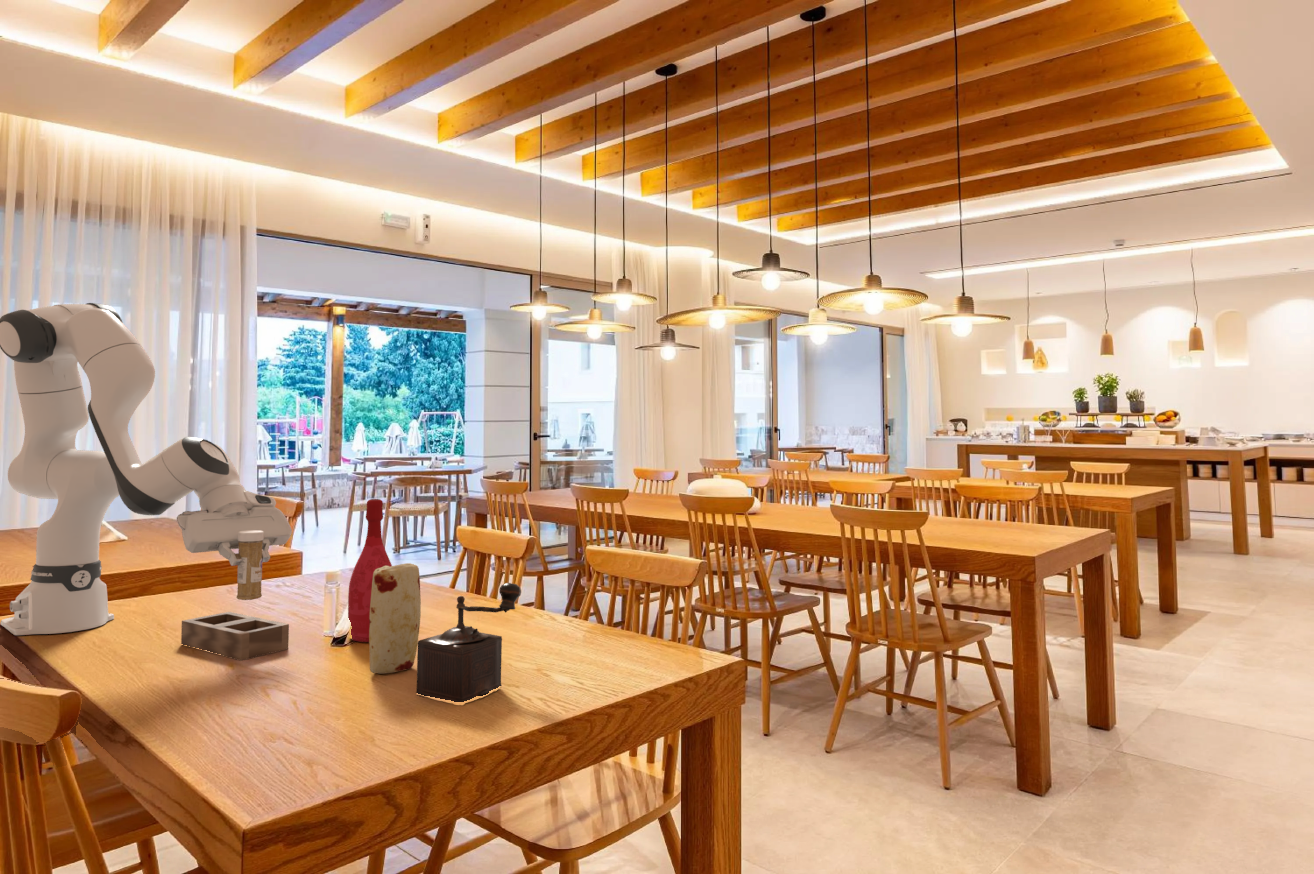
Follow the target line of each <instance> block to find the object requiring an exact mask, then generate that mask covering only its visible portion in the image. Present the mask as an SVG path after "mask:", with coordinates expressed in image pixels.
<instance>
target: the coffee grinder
mask: <svg viewBox="0 0 1314 874" xmlns="http://www.w3.org/2000/svg"><path fill="white" fill-rule="evenodd" d="M499 594H500V596H501V603H500V604H499V605H498V607H487V606H467V605H466V604H465V603H464V602H465V600H466V598H465V596H462V595H458V596H457V599H456V602H457V604H456V609H457V610H458V611H457V613H458V614H457V616H458V617H457V618H458V619H457V625H456V626H454V627H451V628H449V629H447V630H444V632H442V633H441V634H437V635H434V636H429V637H425V638H423V639H420V640H419V639H418V644H417V653H416V655H417V656H416V657H417V658H416V662H417V663H416V692H415V694H416V693H418V694H421V695H424V696H430V697H435V698H440V699H445V700H451V701H454V702H464V701H467V700H470V699H472V698H474V697H476V696H483V695H486V694H488V693H489V691H491V690H493V689H496V688H498V687H499V686H502V654H503V653H502V652H503V651H502V649H503V648H502V647H503V644H502V643H503V637H502V636H501V635H497V634H492V633H491V634H490V633H485V632H480V631H479V629H478V628H474V627H473V626H471V625H470V626H468V625H465V623H464V613H465V612H464V611H466V612H483V613H485V612H486V613H499V612H504V613H508V611H509V612H510V611H511V610H514V611H515V610H516V606H515V605H516V604H515V603H516V601H517V600H518V599H519V597H520V596H521V594H522V589H521V587H520V585H518V584H516V583H512V582H506V583H504V584H501V586H500V587H499ZM502 687H503V686H502Z"/></svg>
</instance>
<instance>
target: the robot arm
mask: <svg viewBox="0 0 1314 874" xmlns="http://www.w3.org/2000/svg"><path fill="white" fill-rule="evenodd" d="M0 350H1V351H2V353H4V354H5V355H6V356H7V357H8V358H9V359H11V360H12V361H13V364H14V365H13V366H14V377H15V384H16V389H17V395H18V399H19V402H20V407H21V412H22V419H23V423H24V438H23V444H22V447H21V450H20V452H19V454H18V455H17V456H16V457H15V458H14V459H13V460H12V461H11V463H10V464H9V467H8V468H7V480H8V482H9V485H10V486H11V488H12V489H13V490H14V491H15V492H18V493H20V494H21V495H26V496H29V497H31V498H32V497H33V498H36V499H41V500H42V499H44V500H45V499H46V500H57V503H56V506H55V507H56V508H55V510H54V512H53V514H52V515H51V517H50V518H49V519H48V520H46V521H44V522H43V523H41V524H40V525H39V526H38V528H37V531H36V550H35V553H36V554H35V564H34V565H32V570H31V573H30V580H31V582H30V583H29V584H28V586H26V587H25V588H24V589H23V590H22V591H21V592H20V593H19V594H18V595H17V596H16V597H15V600H11V601H10V602H9V610H10V612H13V613H14V615H13V616H10V617H8V618H7V617H5V618H3V619H1V620H0V625H1V626H2V627H4V629H6V630H7V631H8V632H10V633H11V634H13V635H14V636H25V635H26V636H27V635H29V636H30V635H48V634H49V635H51V634H62V633H72V632H78V631H85V630H90V629H94V628H97V627H101V626H103V625H105V624H106V623H107V622H109V621H111V620H114V619H115V614H114V613H111V612H110V613H109V603H108V600H109V599H108V588H107V587H108V586H107V584H106V583H105V582H104V581H102V580H101V575H102V568H103V567H102V561H101V560H100V538H101V528H102V524H103V522H104V518H105V515H106V513H107V511H108V509H109V507H110V506H111V504H112V502H114V501H115V500H116V498H118V497H120V499H121V501H122V502H123V503H122V504H124V505H125V506H126V507H127V509H128V510H129V511H131V512H133V513H134V514H138V515H143V516H160V515H162V514H163V513H165V512H166V511H167V510H169V509H170V508H171V507H173V505H175V503H176V502H177V503H178V501H180V500H182V499H183V498H185V497H186V496H188V495H189V494H190V493H192V492H194V494H195V495H196V496H197V497H198V500H199V501H198V502H199V506H200V509H201V510H193V511H191V510H185V511H182V513H180V514H178V515H177V517H176V522H177V525H178V527H179V528H180V529H181V533H182V540H183V545H184V547H185V549H186V550H187V551H188V552H189V553H192V554H197V553H206V552H217V551H218V553H219V555H220V556H221V557H223V558H225V559H226V560H228V562H229V564H230V566H238V565H240V563H241V562H242V558H241V557H240V554H239V552H238V553H235V552H234V551H233V550H239V543H238V542H239V541H238V532H240V531H246V530H259V531H263V532H264V539H263V543H262V563H267V562H269V561H270V559H271V554H270V553H269V549H270V547H271V546H282V545H283V546H284V545H285V544H286V543H287V542H288V541H289V539H290V538H291V537H292V536H291V535H292V533H293V529H292V527H291V525H290V523H289V520H288V519H287V517H286V516H285V514H284V512H283V511H282V510H281V509H279V508H277V507H276V504H277V501H276V499H275V498H274V497H272V496H268V495H265V494H264V495H262V494H258V493H255V492H251V491H249V490H246V489H245V487H244V486H243V485H242V484H241V482H240V475H239V474H238V471H237V469H236V467H235V465H234V463H233V461H232V460H231V458H230V457H229V456H228V454H227V453H226V452H225V451H224V449H223V448H222V447H221V446H219V445H218V444H216V443H213V442H212V441H210V440H208V439H203V438H199V437H193V436H185V437H183V438H182V439H179V440H177V441H175V442H173V443H172V444H171V445H169V446H167V448H165V449H163V450H162V451H161V452H159V453H158V454H156V455H155V456H153V457H151V458H149V459H148V460H147V461H145V462H143V463H142V462H141V460H140V457H139V455H138V453H137V450H136V448H135V446H134V444H133V441H132V440H131V437H130V435H129V429H128V428H129V423H130V420H131V418H132V416H133V414H135V411H136V410H137V408H138V407H139V405H140V404H141V403H142V401H144V400H145V399H146V397H147V395H148V394H149V393H150V391H151V389H152V387H153V385H154V382H155V377H156V369H155V366H154V363H153V361H152V360H151V358H150V356H149V354H148V352H146V350H145V349H144V348H143V346H142V344H141V343H140V341H139V340H138V339H137V338H136V336H135V334H133V333H132V332H131V330H129V328H128V327H127V326H126V325H125V324H124V322H123V319H122V318H121V316H120V315H119V313H118V312H117V311H116V310H115V309H114V308H113V307H112V306H110V305H106V304H103V303H102V304H101V303H95V302H88V303H85V304H84V303H83V304H81V303H64V304H63V303H62V304H61V303H60V304H54V305H52V306H51V305H50V306H43V307H36V308H32V309H18V310H14V311H11V312H8V313H6V314H3V315H1V316H0ZM78 364H79V365H80V367H81V369H82V370H83V372H84V373H85V374H86V376H87V379H88V382H89V386H90V400H89V403H88V405H87V402H86V397H85V392H84V388H83V383H82V379H81V375H80V372H79V367H78ZM89 418H90V419H89ZM89 420H90V422H91V424H92V427H93V429H94V432H95V434H96V436H97V439H98V441H99V443H100V447H101V448H102V450H103V451H101V450H85V449H83V450H78V449H77V448H76V440H77V434H78V431H80V430H81V429H83V428H84V427H85V426H86V425H87V424H88V422H89Z"/></svg>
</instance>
